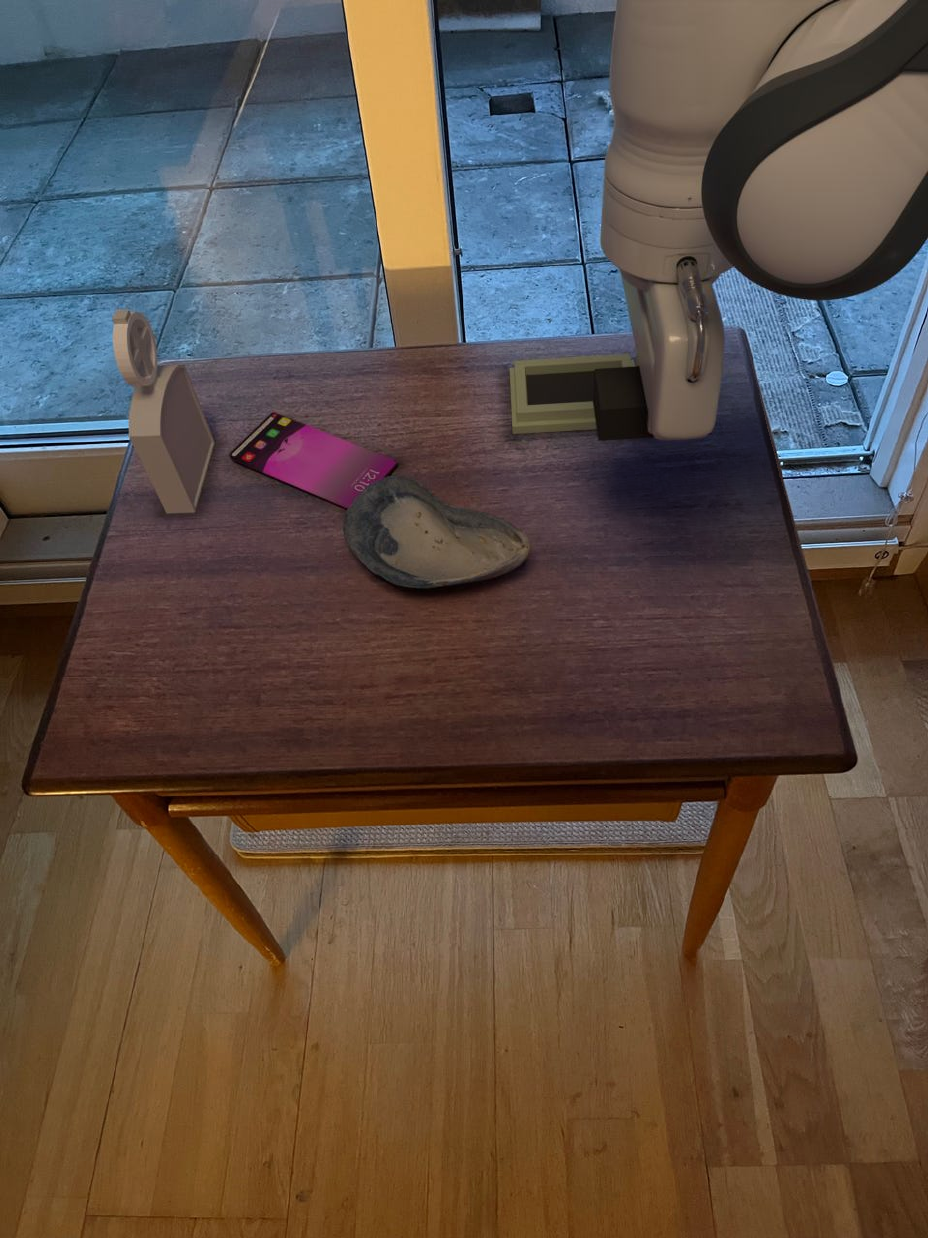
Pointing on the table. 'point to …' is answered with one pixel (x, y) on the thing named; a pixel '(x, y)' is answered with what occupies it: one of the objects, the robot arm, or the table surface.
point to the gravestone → (163, 416)
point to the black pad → (620, 404)
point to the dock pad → (557, 392)
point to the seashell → (428, 537)
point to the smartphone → (311, 459)
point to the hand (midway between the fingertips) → (653, 399)
